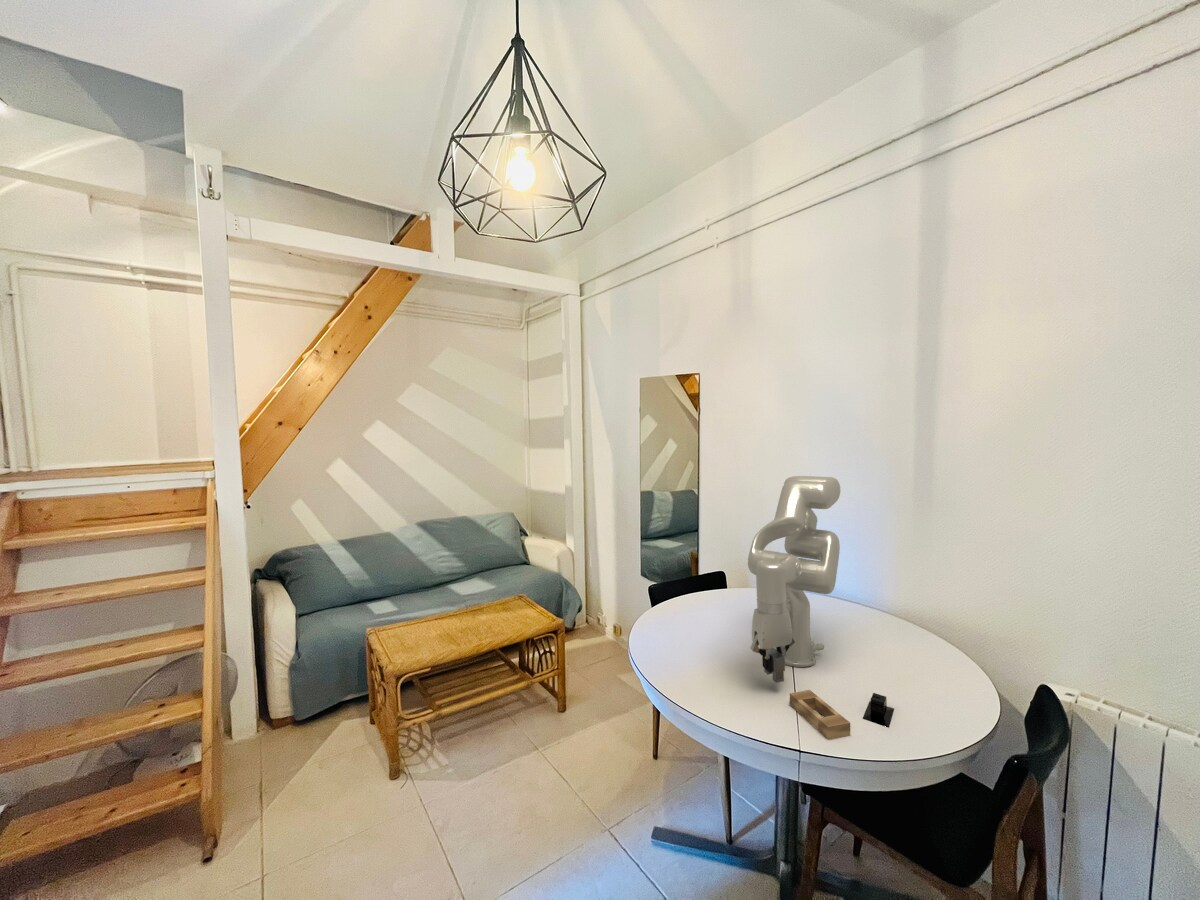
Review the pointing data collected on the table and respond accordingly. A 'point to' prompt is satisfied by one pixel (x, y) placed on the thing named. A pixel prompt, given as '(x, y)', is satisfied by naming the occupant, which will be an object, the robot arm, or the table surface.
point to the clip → (777, 665)
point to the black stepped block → (878, 711)
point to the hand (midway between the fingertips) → (773, 668)
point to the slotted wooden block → (827, 725)
